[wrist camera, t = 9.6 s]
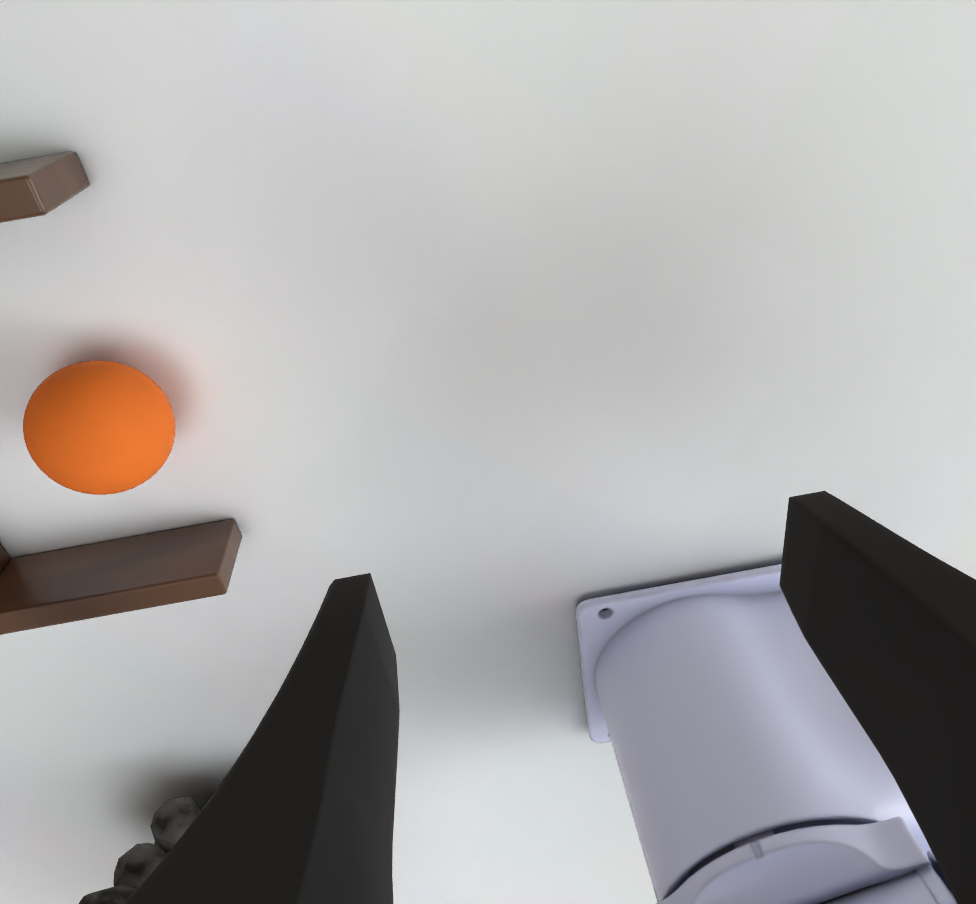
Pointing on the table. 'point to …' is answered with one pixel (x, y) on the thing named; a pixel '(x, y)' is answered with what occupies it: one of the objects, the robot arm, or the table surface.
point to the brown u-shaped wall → (113, 564)
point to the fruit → (148, 851)
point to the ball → (99, 427)
